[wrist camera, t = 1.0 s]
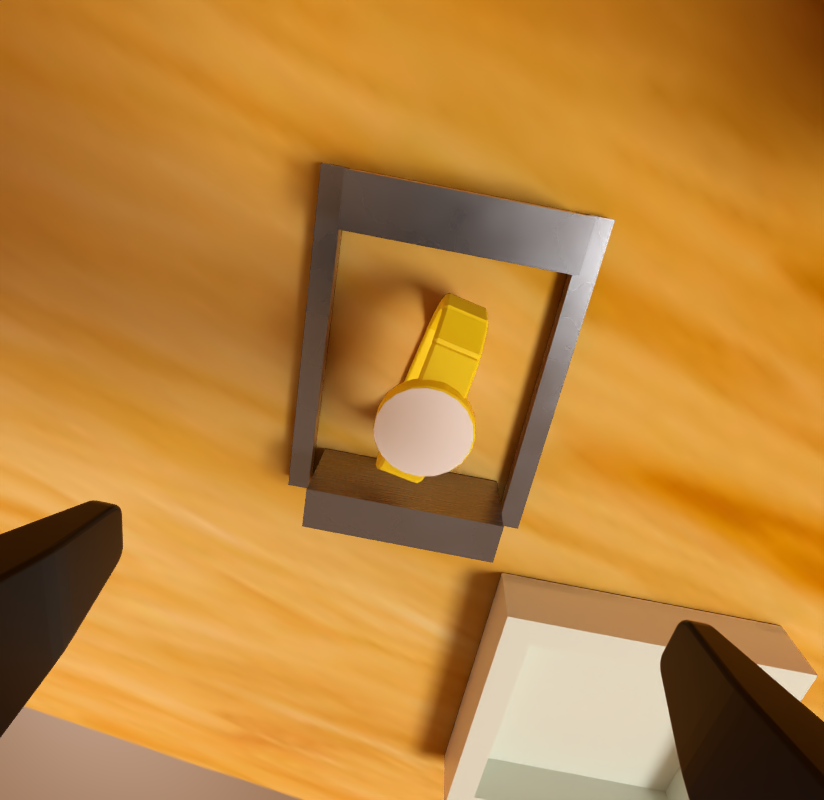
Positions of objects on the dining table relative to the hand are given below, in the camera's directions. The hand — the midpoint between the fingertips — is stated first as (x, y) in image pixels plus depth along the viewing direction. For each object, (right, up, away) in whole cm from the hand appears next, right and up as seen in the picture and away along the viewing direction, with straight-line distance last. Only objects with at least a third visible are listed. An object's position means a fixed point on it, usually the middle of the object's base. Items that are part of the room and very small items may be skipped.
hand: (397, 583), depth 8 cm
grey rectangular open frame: (+1, +4, +11) cm, 12 cm away
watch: (+1, +4, +11) cm, 12 cm away
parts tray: (+9, -11, +17) cm, 22 cm away
